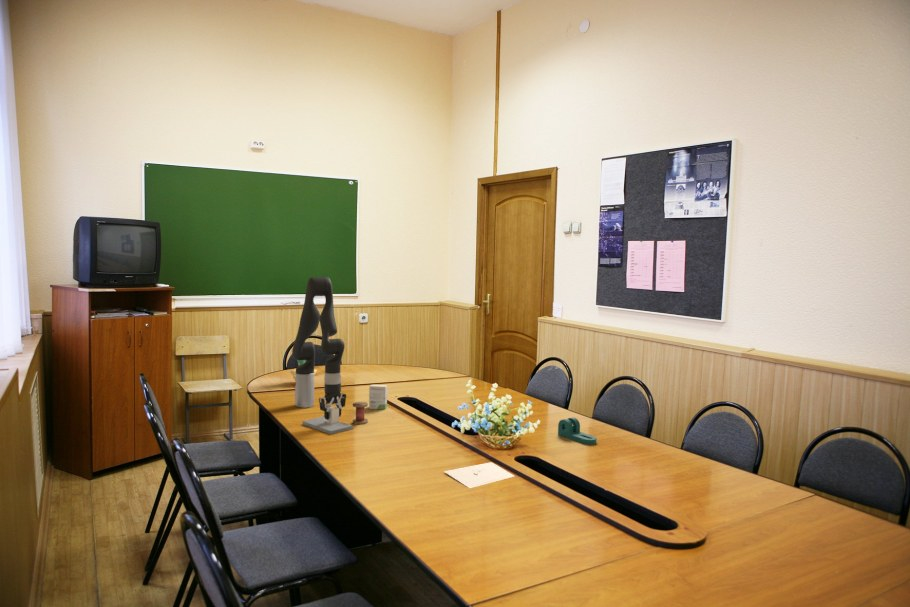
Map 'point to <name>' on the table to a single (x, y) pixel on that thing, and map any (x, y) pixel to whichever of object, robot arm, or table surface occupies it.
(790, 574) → the table surface
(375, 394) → the ink box
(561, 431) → the bracket
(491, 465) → the paper sheet
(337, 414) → the block
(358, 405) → the spool
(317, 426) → the notched board
